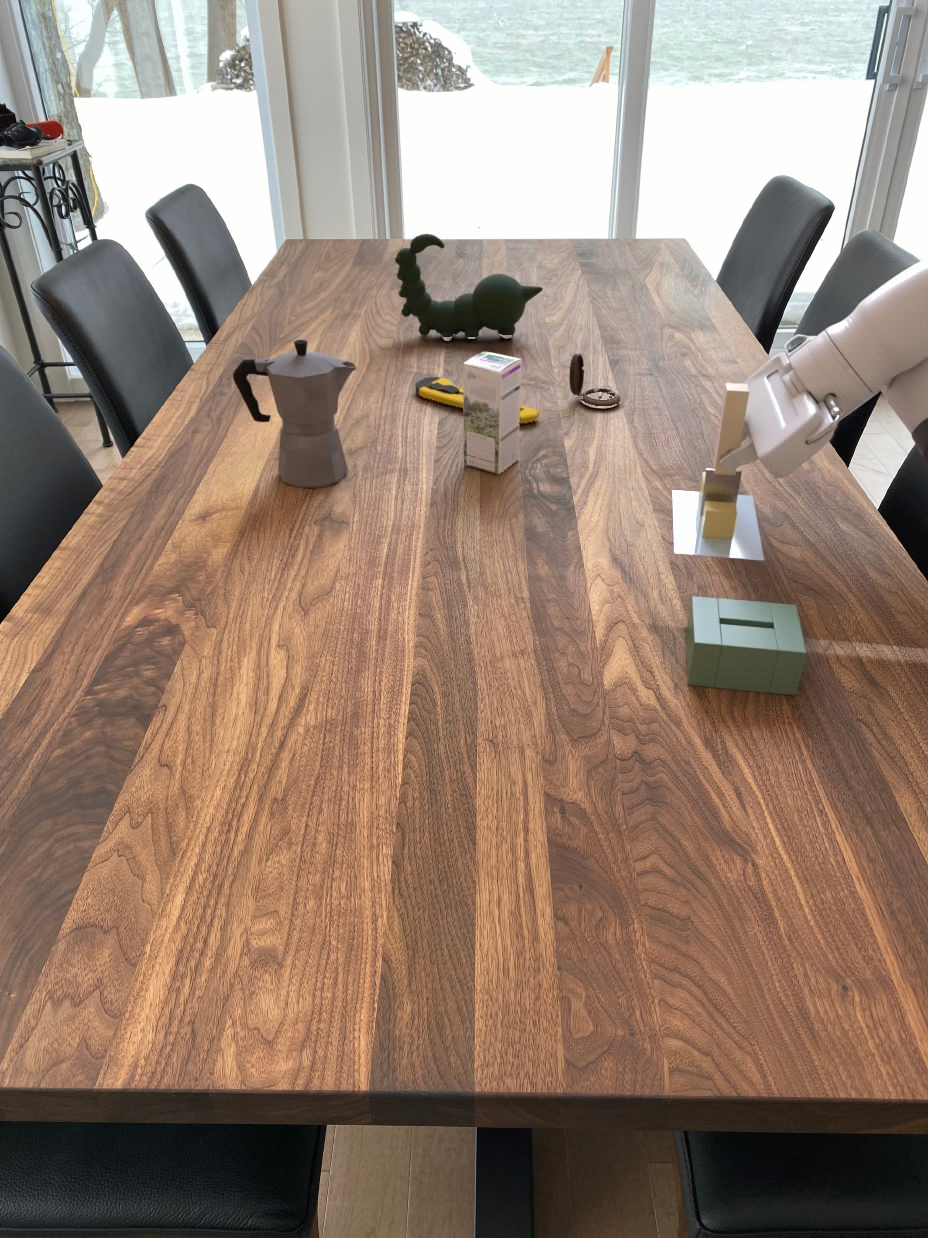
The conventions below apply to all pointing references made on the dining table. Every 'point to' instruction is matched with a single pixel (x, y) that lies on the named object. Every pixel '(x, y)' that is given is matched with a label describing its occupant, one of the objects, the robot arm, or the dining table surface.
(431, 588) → the dining table surface
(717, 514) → the butter pat
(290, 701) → the dining table surface
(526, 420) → the utility knife
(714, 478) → the putty knife
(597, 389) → the compass
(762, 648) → the knife block
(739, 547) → the butter dish
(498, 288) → the toy figurine
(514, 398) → the syrup box
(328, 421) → the coffeepot
